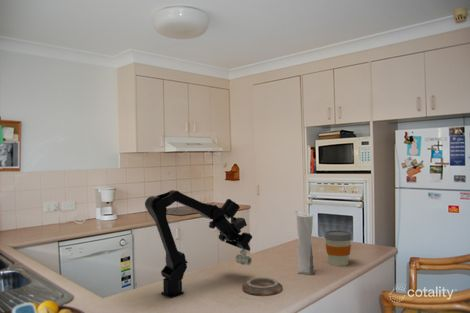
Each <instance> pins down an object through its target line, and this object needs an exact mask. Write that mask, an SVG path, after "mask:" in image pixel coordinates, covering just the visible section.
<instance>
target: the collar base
mask: <svg viewBox="0 0 470 313" xmlns="http://www.w3.org/2000/svg"><path fill="white" fill-rule="evenodd" d="M241 288H242V291H243V292H244V293H246V294H248V295H251V296H256V297H267V296H269V297H270V296H274V295H278V294H280V293H281V292H282V291H283V284H281V282H278V280H276V279H274V278H270V277H261V276H260V277H253V278H251V279H250V278H249V279H248V280H247V281H246V282H245V283H243V284H242V287H241Z"/></svg>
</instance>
